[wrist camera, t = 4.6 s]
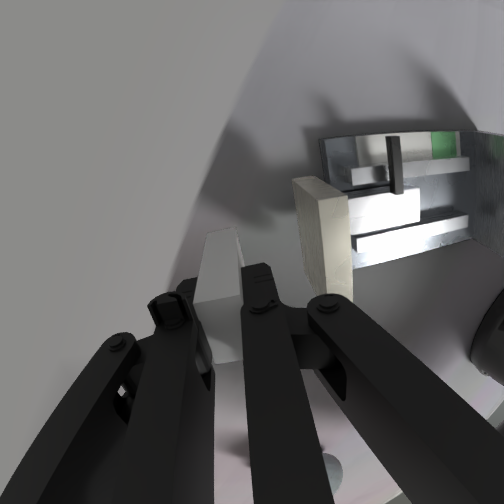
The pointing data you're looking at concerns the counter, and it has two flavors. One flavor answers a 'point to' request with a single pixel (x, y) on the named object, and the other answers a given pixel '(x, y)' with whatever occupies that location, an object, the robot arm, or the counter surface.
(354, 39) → the counter surface
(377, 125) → the counter surface
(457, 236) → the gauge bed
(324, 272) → the sliding gauge carriage
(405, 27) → the counter surface
